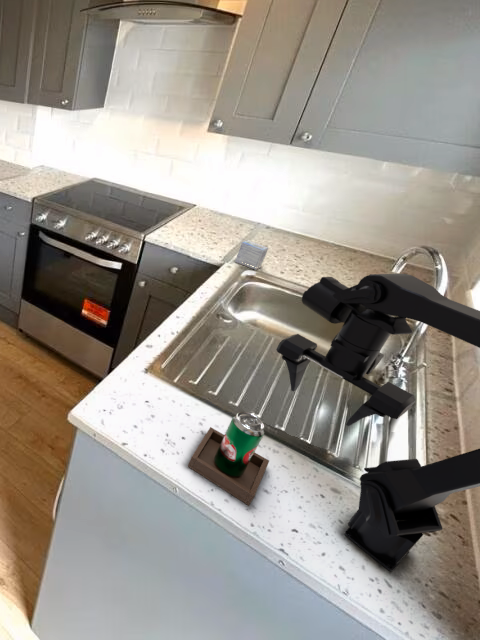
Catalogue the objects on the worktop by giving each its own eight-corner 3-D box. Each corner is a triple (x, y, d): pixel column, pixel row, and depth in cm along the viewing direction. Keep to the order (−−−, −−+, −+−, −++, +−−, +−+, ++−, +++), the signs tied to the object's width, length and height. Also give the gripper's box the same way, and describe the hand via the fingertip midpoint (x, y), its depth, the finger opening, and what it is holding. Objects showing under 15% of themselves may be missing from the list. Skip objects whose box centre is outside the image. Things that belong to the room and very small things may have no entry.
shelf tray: (264, 469, 82) (269, 460, 81) (249, 505, 75) (254, 496, 74) (206, 435, 88) (210, 426, 87) (187, 466, 82) (191, 456, 80)
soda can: (208, 454, 84) (228, 409, 78) (233, 455, 84) (256, 410, 78) (221, 477, 79) (244, 431, 74) (248, 479, 79) (273, 433, 74)
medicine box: (260, 267, 163) (269, 247, 159) (255, 270, 161) (263, 249, 157) (239, 259, 169) (247, 239, 165) (234, 261, 167) (241, 241, 163)
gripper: (451, 360, 69) (400, 428, 76) (322, 301, 83) (290, 363, 90) (423, 381, 64) (372, 451, 71) (292, 315, 78) (260, 379, 85)
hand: (319, 406), depth 80 cm, fingers open, 9 cm apart
